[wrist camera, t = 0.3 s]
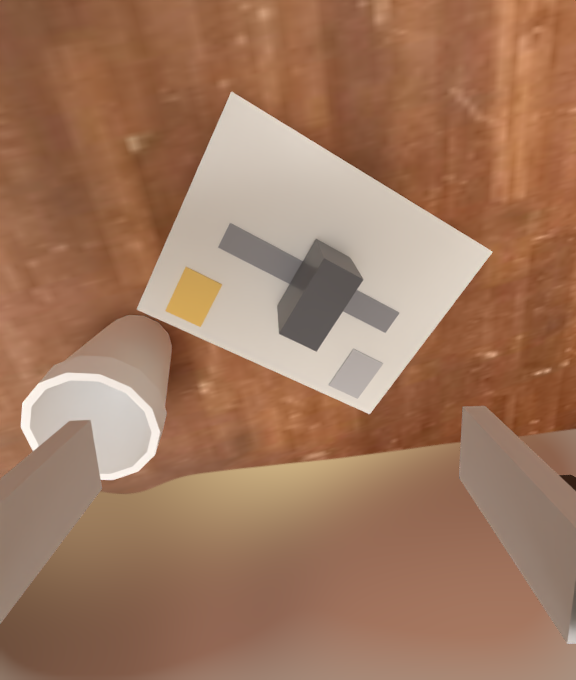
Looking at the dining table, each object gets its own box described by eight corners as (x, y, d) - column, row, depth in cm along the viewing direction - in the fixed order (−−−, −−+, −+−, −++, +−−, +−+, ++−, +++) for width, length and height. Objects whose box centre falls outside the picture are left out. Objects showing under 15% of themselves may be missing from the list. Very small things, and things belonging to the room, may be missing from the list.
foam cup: (187, 303, 41) (157, 376, 29) (189, 387, 45) (162, 481, 34) (81, 296, 40) (7, 369, 29) (93, 383, 44) (32, 477, 33)
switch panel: (236, 95, 34) (231, 91, 28) (461, 233, 39) (493, 252, 34) (153, 283, 40) (135, 310, 34) (357, 379, 46) (370, 415, 40)
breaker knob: (316, 238, 32) (324, 258, 28) (350, 257, 33) (363, 279, 29) (277, 305, 35) (278, 333, 30) (310, 322, 35) (316, 351, 31)
